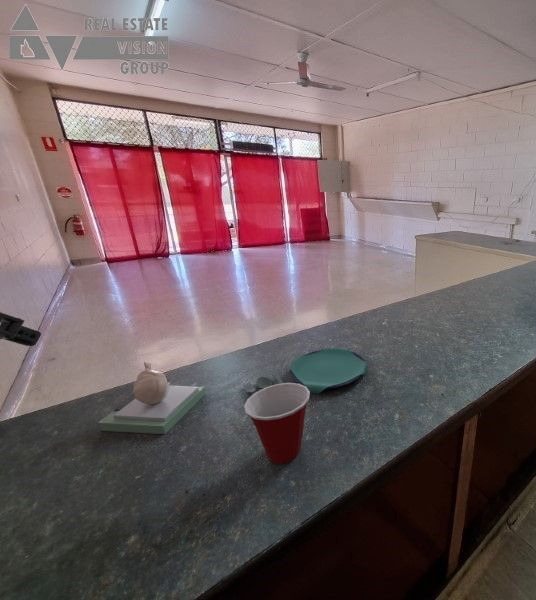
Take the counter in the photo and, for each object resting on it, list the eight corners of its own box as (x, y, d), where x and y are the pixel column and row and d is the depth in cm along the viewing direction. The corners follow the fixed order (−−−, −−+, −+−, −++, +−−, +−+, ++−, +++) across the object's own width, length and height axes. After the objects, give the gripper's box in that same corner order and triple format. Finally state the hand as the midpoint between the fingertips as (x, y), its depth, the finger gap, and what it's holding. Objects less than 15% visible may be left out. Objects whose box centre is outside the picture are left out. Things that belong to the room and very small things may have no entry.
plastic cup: (296, 422, 66) (292, 373, 62) (324, 452, 59) (321, 398, 55) (242, 449, 59) (234, 395, 55) (267, 487, 52) (258, 427, 48)
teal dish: (380, 376, 84) (381, 368, 83) (264, 424, 65) (263, 415, 65) (342, 348, 98) (342, 341, 97) (238, 380, 80) (237, 373, 79)
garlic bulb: (178, 390, 71) (171, 358, 68) (163, 408, 65) (155, 375, 62) (145, 392, 70) (137, 360, 67) (127, 411, 64) (117, 377, 61)
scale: (100, 430, 62) (96, 419, 61) (151, 391, 74) (148, 381, 74) (165, 434, 62) (162, 422, 61) (205, 394, 74) (203, 384, 73)
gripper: (-78, 256, 33) (68, 316, 48) (-209, 250, 33) (-24, 312, 48) (-135, 323, 30) (41, 366, 44) (-280, 316, 30) (-58, 360, 45)
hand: (7, 338), depth 46 cm, fingers open, 8 cm apart
